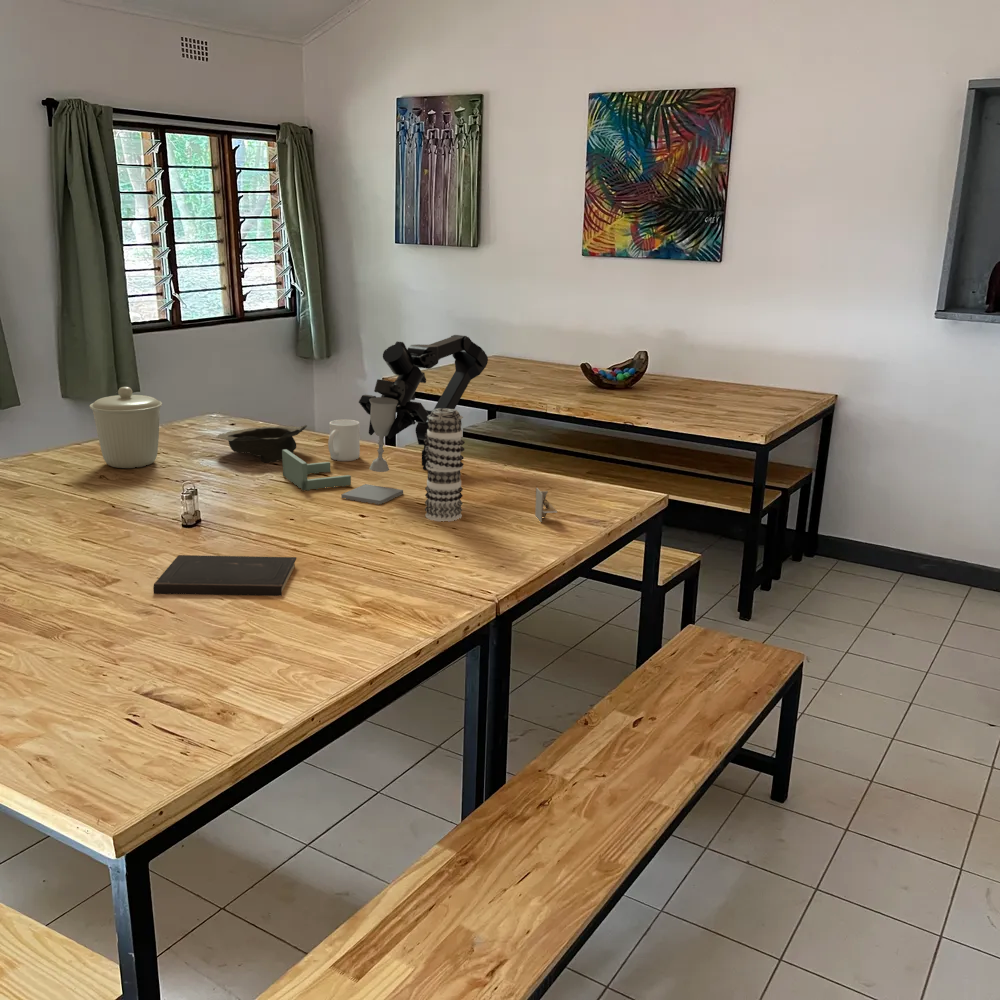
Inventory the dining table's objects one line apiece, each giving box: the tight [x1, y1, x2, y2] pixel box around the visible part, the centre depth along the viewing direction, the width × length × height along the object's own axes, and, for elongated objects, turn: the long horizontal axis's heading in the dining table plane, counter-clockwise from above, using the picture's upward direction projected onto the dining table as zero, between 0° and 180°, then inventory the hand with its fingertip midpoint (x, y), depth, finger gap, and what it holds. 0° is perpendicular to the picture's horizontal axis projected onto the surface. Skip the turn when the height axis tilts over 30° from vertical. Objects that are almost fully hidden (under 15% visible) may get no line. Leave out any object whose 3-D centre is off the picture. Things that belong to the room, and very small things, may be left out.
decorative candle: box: [424, 408, 466, 523], centre depth 223 cm, size 9×9×25 cm
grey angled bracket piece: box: [534, 487, 558, 523], centre depth 225 cm, size 3×7×7 cm, turn 11°
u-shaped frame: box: [281, 449, 352, 492], centre depth 252 cm, size 13×16×7 cm
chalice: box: [369, 396, 398, 473], centre depth 247 cm, size 7×7×18 cm
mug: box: [327, 419, 361, 462], centre depth 274 cm, size 12×8×10 cm
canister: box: [89, 386, 163, 469], centre depth 261 cm, size 18×18×21 cm
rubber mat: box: [340, 483, 404, 505], centre depth 241 cm, size 11×11×1 cm
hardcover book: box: [152, 554, 297, 597], centre depth 184 cm, size 16×23×2 cm
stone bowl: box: [215, 424, 308, 464], centre depth 276 cm, size 25×25×9 cm
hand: (379, 435), depth 246 cm, fingers closed on chalice, 6 cm apart
